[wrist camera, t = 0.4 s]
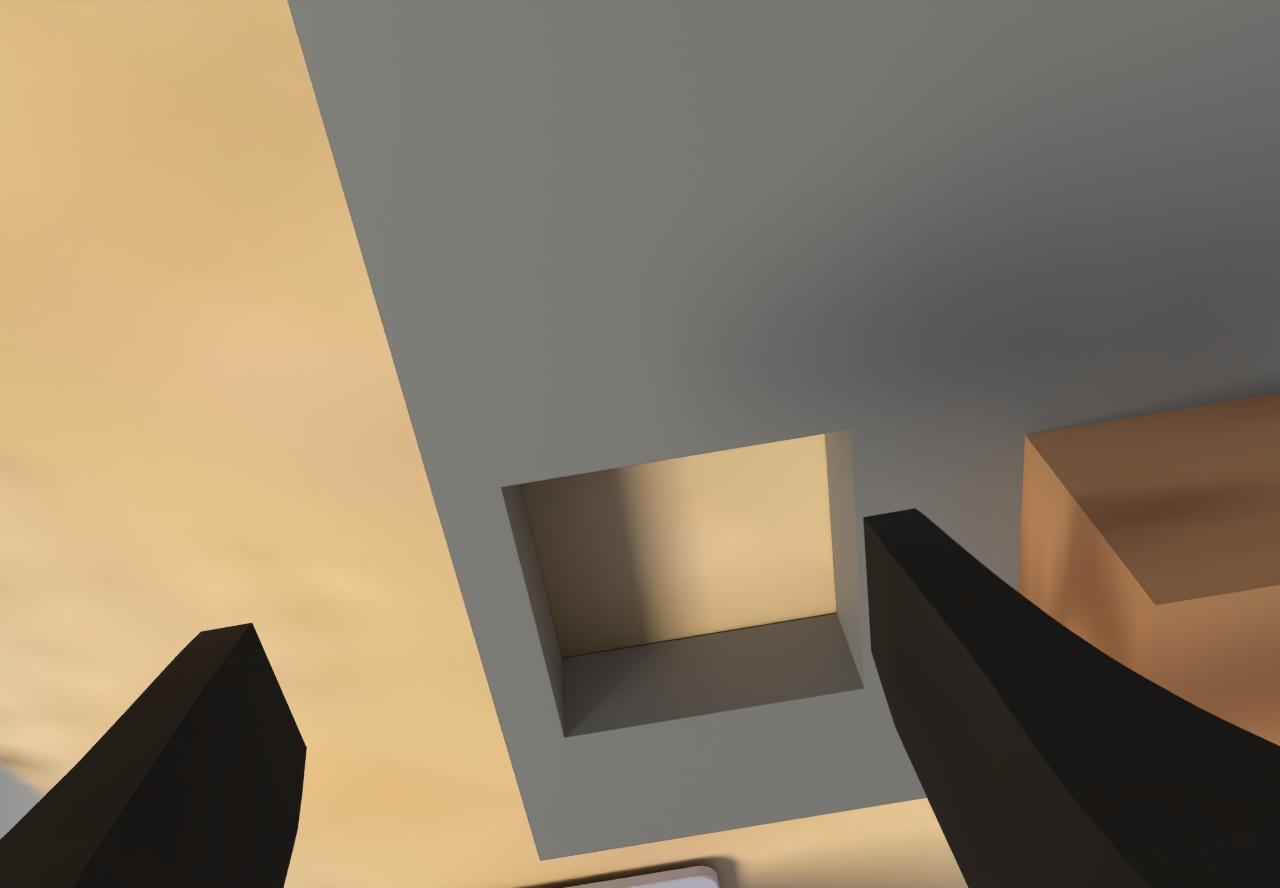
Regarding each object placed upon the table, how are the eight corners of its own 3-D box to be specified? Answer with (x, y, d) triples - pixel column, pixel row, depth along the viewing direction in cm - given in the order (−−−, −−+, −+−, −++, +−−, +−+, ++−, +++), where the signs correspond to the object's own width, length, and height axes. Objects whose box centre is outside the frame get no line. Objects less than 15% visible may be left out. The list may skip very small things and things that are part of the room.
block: (1251, 598, 23) (1416, 783, 18) (1015, 637, 23) (1125, 831, 19) (1290, 390, 20) (1493, 549, 16) (1025, 434, 20) (1155, 605, 16)
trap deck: (1723, 583, 27) (1894, 696, 24) (540, 777, 27) (539, 918, 24) (2199, -420, 17) (2621, -477, 13) (297, -99, 17) (236, -74, 14)
